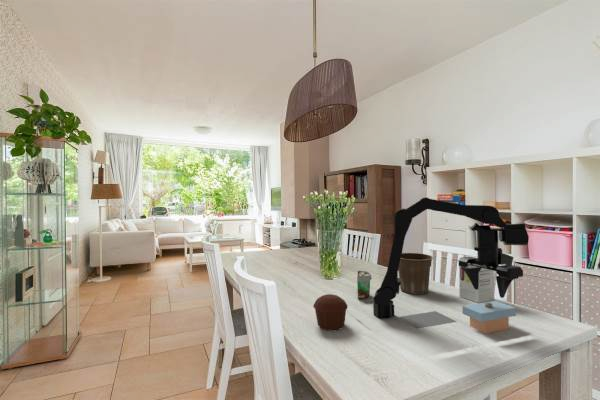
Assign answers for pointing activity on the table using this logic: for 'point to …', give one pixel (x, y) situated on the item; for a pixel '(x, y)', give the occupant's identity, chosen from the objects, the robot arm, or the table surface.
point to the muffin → (330, 312)
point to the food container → (363, 284)
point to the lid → (489, 311)
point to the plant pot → (414, 272)
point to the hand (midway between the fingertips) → (488, 293)
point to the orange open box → (490, 324)
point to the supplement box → (484, 288)
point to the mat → (426, 319)
